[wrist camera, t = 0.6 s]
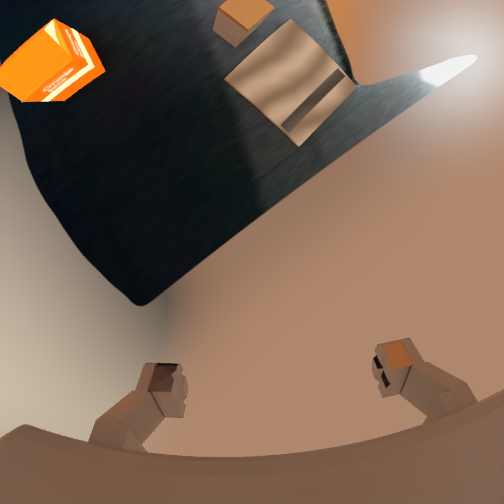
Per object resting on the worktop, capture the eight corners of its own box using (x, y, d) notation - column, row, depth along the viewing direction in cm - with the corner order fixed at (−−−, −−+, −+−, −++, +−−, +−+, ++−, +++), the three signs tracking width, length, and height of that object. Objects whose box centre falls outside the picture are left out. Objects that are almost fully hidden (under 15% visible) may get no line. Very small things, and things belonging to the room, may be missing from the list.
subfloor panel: (223, 79, 41) (224, 78, 40) (288, 20, 38) (290, 18, 37) (296, 145, 49) (299, 146, 48) (353, 87, 45) (357, 87, 44)
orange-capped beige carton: (212, 30, 37) (218, 7, 27) (234, 10, 36) (247, -16, 25) (235, 47, 39) (248, 29, 29) (256, 28, 38) (275, 6, 27)
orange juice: (106, 71, 37) (55, 53, 19) (64, 101, 37) (-2, 105, 20) (89, 38, 33) (35, 7, 15) (48, 68, 33) (-19, 58, 16)
